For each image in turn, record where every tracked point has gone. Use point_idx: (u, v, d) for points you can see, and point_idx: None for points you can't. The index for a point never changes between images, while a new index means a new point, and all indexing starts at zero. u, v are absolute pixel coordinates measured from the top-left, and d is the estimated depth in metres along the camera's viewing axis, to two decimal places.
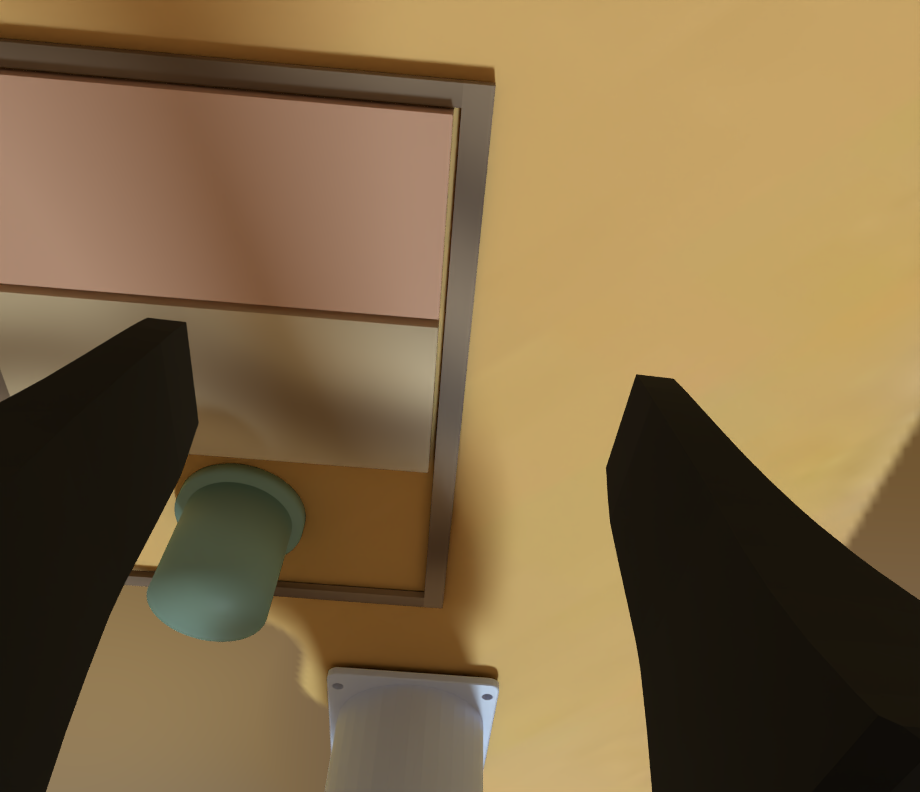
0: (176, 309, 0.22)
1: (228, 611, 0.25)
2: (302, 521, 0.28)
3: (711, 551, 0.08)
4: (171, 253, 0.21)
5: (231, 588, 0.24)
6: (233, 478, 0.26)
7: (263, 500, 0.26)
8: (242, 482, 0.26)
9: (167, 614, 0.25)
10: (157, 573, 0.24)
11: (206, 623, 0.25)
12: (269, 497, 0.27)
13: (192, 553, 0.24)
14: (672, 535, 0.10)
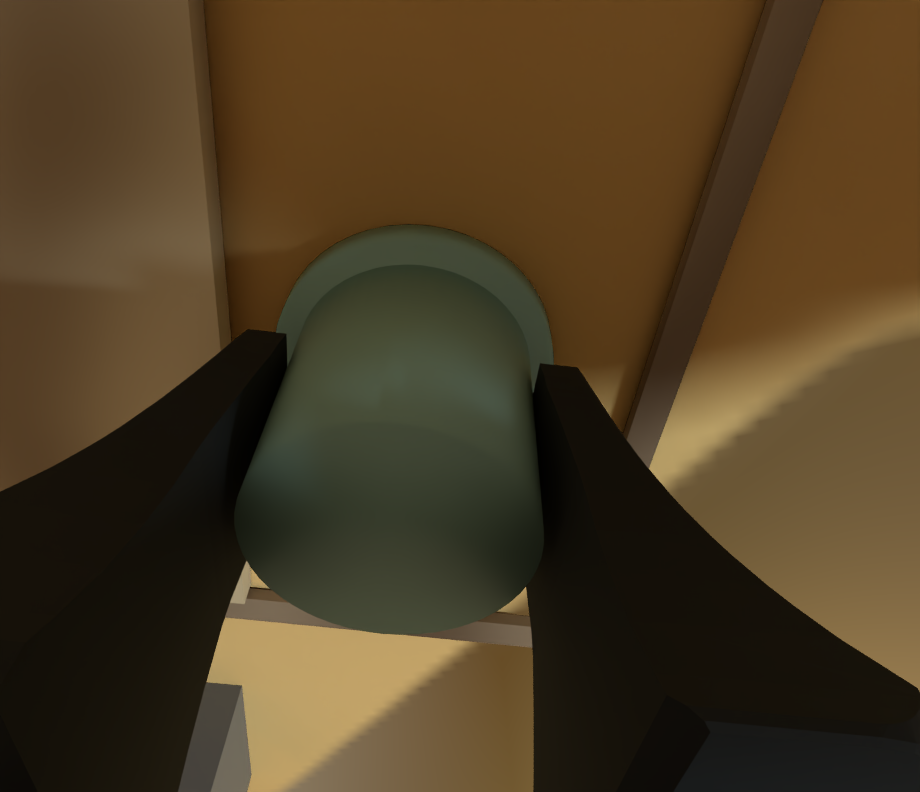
0: None
1: (410, 505, 0.09)
2: (417, 239, 0.11)
3: (579, 537, 0.08)
4: None
5: (308, 482, 0.09)
6: None
7: (313, 314, 0.12)
8: (291, 340, 0.12)
9: (427, 613, 0.10)
10: None
11: (464, 557, 0.10)
12: (322, 298, 0.12)
13: None
14: (557, 522, 0.10)
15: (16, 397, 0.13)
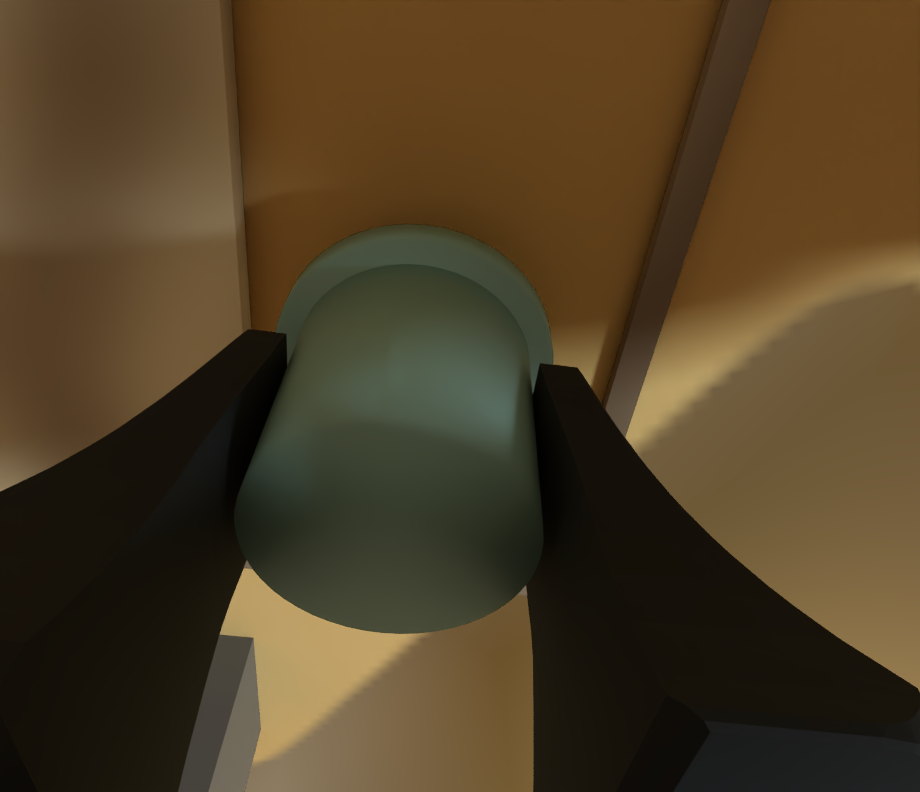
0: None
1: (411, 504, 0.09)
2: (416, 239, 0.11)
3: (579, 537, 0.08)
4: None
5: (308, 482, 0.09)
6: None
7: (314, 313, 0.12)
8: (291, 340, 0.12)
9: (427, 612, 0.10)
10: None
11: (463, 555, 0.10)
12: (322, 297, 0.12)
13: None
14: (557, 522, 0.10)
15: (52, 352, 0.14)
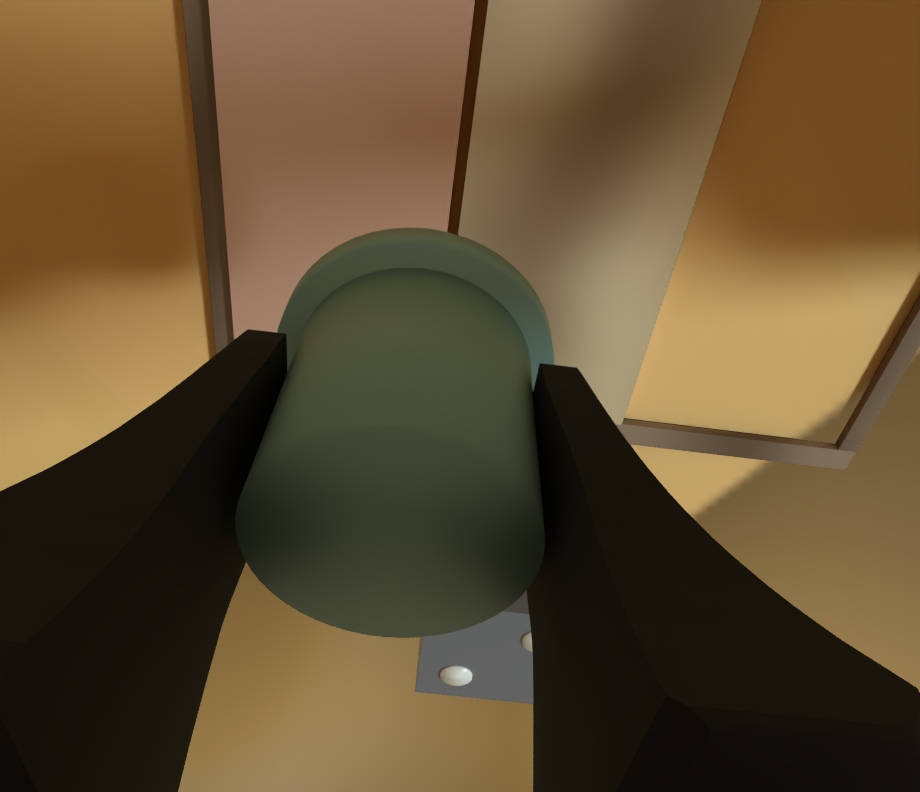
0: (463, 224, 0.20)
1: (411, 510, 0.09)
2: (418, 242, 0.11)
3: (579, 537, 0.08)
4: (394, 210, 0.20)
5: (309, 486, 0.09)
6: None
7: (314, 317, 0.12)
8: (292, 343, 0.12)
9: (429, 616, 0.10)
10: None
11: (465, 561, 0.10)
12: (323, 301, 0.12)
13: None
14: (556, 522, 0.10)
15: (536, 258, 0.20)
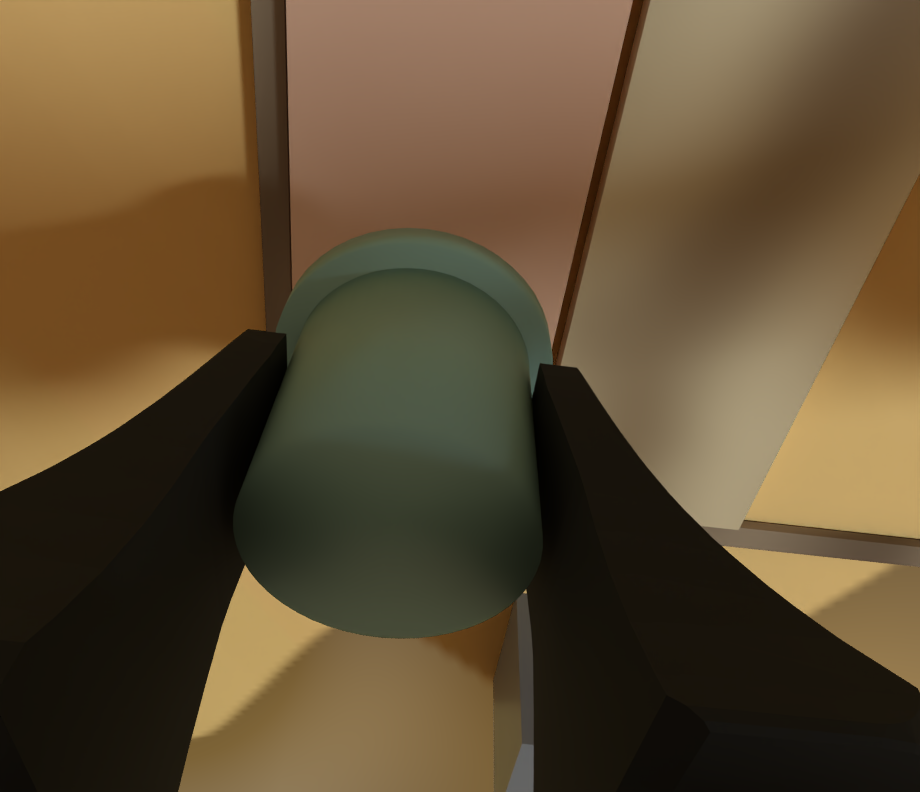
0: (577, 317, 0.17)
1: (410, 511, 0.09)
2: (416, 243, 0.11)
3: (579, 537, 0.08)
4: None
5: (307, 487, 0.09)
6: None
7: (313, 317, 0.12)
8: (290, 344, 0.12)
9: (426, 617, 0.10)
10: None
11: (463, 561, 0.10)
12: (321, 301, 0.12)
13: None
14: (556, 522, 0.10)
15: (660, 354, 0.17)
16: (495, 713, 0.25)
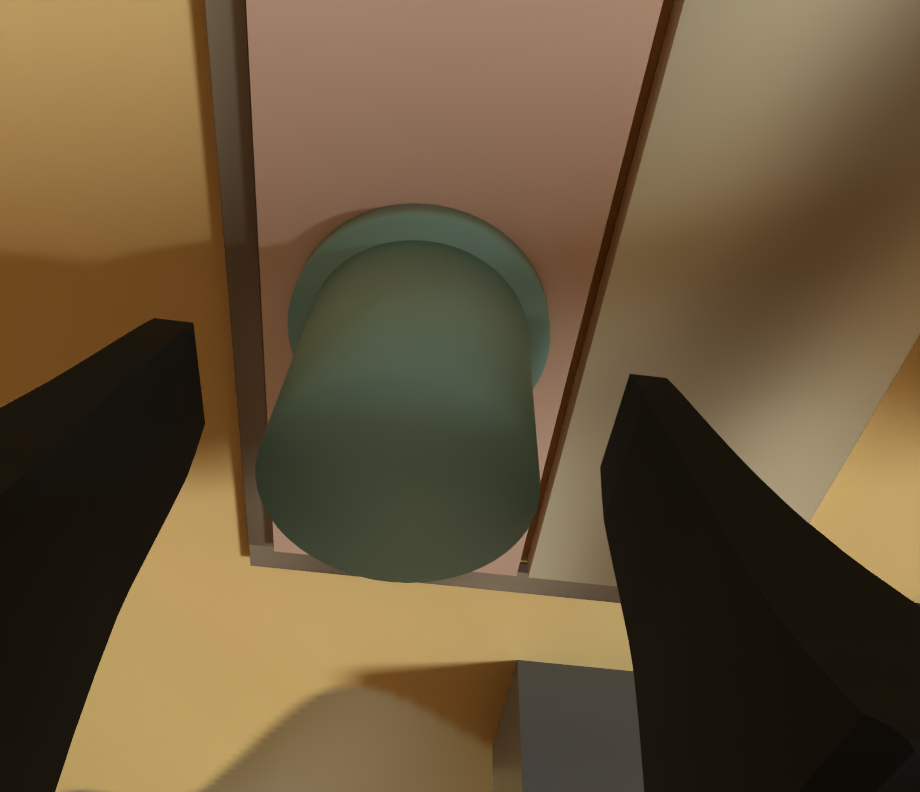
0: (587, 380, 0.15)
1: (417, 456, 0.10)
2: (422, 216, 0.12)
3: (702, 550, 0.08)
4: None
5: (324, 434, 0.10)
6: (298, 326, 0.13)
7: (325, 286, 0.12)
8: (304, 313, 0.13)
9: (432, 561, 0.11)
10: None
11: (467, 505, 0.10)
12: (333, 272, 0.12)
13: None
14: (664, 533, 0.10)
15: None
16: (494, 786, 0.23)
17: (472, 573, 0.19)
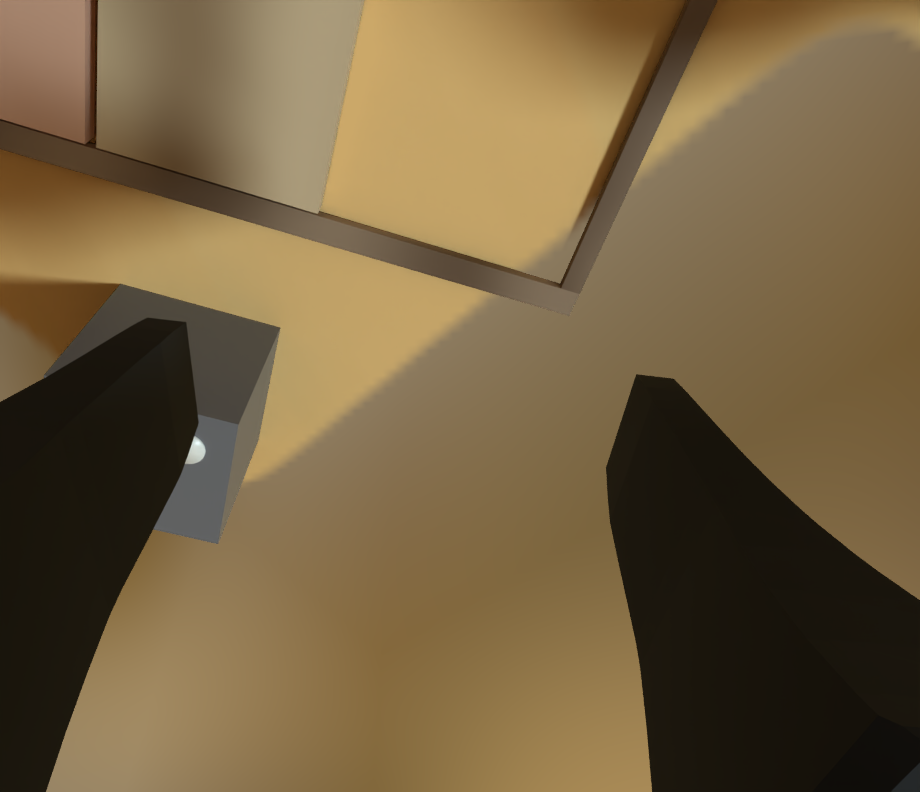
0: None
1: None
2: None
3: (711, 551, 0.08)
4: None
5: None
6: None
7: None
8: None
9: None
10: None
11: None
12: None
13: None
14: (672, 535, 0.10)
15: None
16: None
17: (49, 144, 0.20)
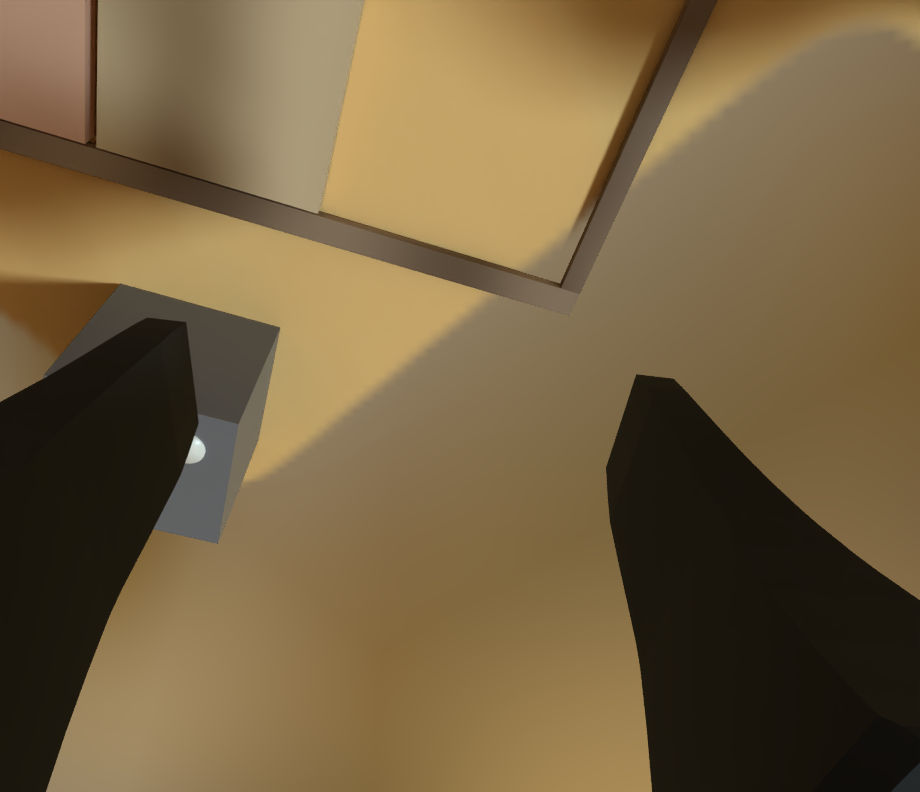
0: None
1: None
2: None
3: (711, 551, 0.08)
4: None
5: None
6: None
7: None
8: None
9: None
10: None
11: None
12: None
13: None
14: (672, 535, 0.10)
15: None
16: None
17: (49, 144, 0.20)
